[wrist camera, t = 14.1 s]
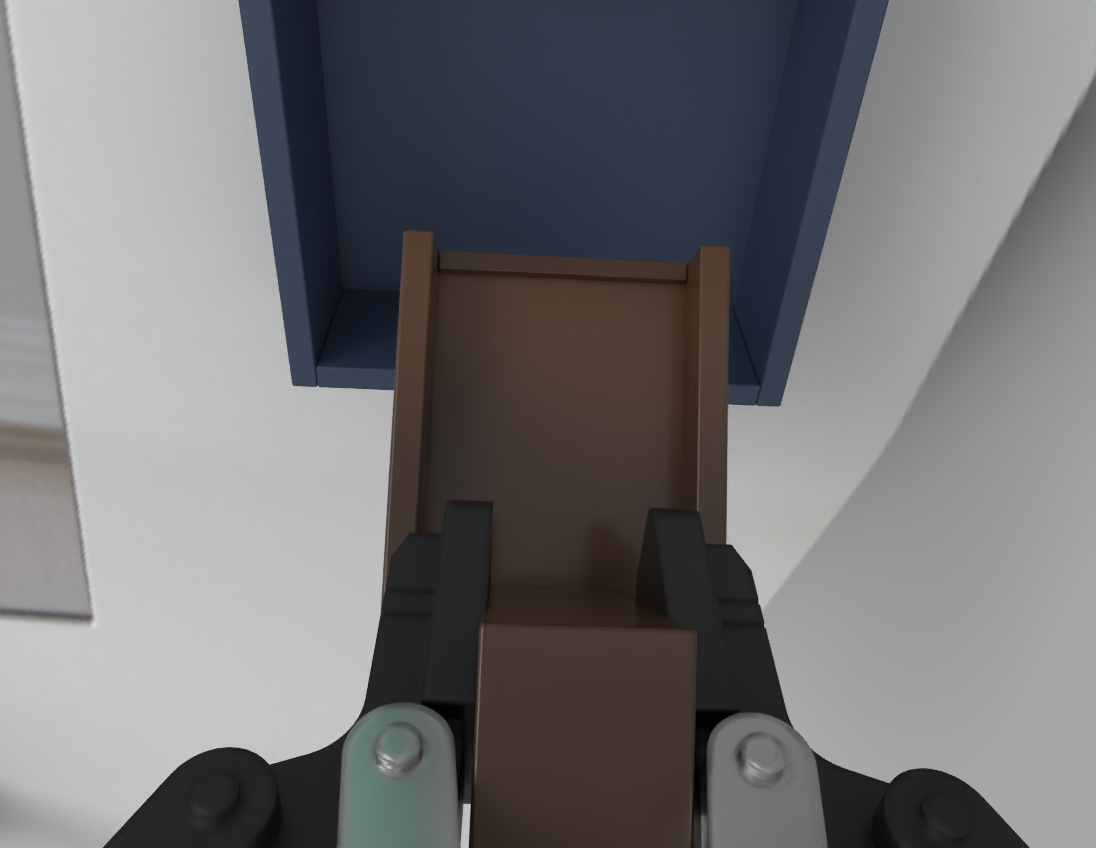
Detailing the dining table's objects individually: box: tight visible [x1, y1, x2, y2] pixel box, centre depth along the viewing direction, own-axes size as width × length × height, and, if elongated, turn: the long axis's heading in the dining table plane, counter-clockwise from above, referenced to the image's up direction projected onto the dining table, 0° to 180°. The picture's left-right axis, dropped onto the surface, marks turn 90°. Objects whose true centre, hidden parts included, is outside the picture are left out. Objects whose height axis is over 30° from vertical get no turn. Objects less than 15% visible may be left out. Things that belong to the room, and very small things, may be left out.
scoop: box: [381, 230, 730, 848], centre depth 15 cm, size 10×6×9 cm
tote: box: [239, 0, 889, 407], centre depth 26 cm, size 16×16×6 cm
